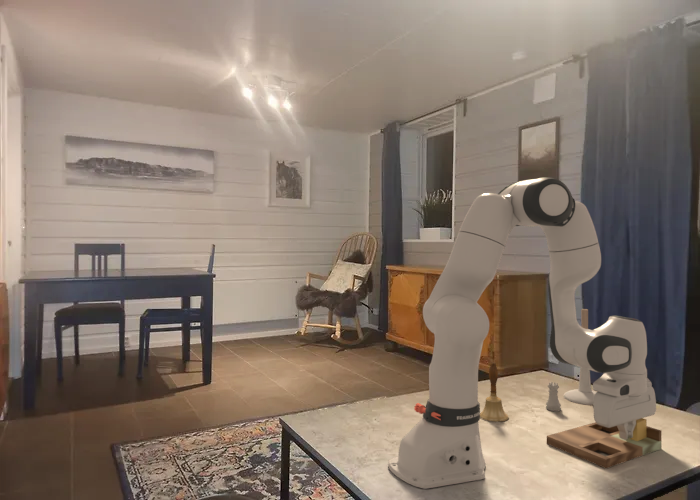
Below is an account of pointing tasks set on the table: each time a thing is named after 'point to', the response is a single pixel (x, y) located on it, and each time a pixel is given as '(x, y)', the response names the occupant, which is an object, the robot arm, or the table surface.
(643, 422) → the block
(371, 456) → the table surface
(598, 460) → the box
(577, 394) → the candlestick
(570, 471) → the table surface
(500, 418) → the hand bell
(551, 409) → the rook chess piece
